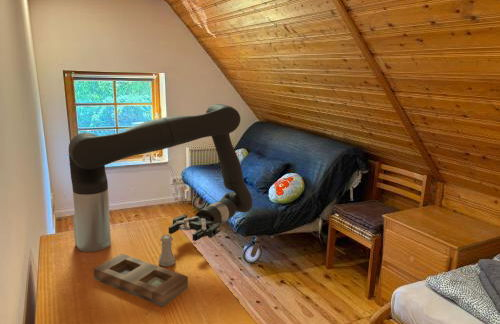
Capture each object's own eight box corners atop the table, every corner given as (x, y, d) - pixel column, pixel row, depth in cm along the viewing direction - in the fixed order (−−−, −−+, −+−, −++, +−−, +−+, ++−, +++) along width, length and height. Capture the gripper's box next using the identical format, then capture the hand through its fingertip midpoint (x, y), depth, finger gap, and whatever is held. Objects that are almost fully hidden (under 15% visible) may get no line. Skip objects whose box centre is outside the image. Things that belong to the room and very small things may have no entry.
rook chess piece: (171, 268, 97) (170, 240, 95) (155, 266, 98) (155, 238, 96) (177, 260, 101) (177, 233, 100) (162, 258, 102) (162, 231, 100)
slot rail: (94, 279, 91) (93, 268, 90) (122, 263, 99) (121, 253, 98) (163, 307, 81) (162, 295, 80) (187, 287, 89) (187, 276, 88)
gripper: (194, 201, 120) (161, 216, 106) (232, 209, 114) (202, 227, 100) (194, 222, 122) (162, 240, 108) (231, 232, 116) (201, 252, 102)
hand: (181, 234), depth 104 cm, fingers open, 8 cm apart
